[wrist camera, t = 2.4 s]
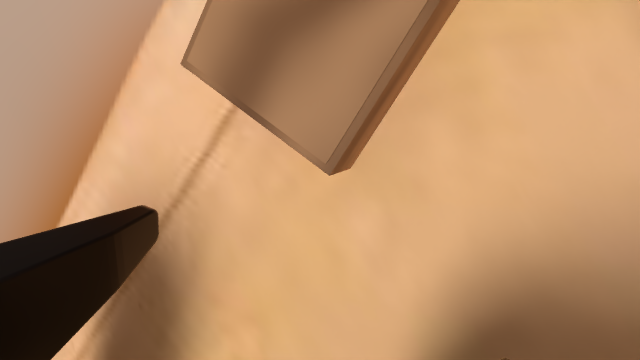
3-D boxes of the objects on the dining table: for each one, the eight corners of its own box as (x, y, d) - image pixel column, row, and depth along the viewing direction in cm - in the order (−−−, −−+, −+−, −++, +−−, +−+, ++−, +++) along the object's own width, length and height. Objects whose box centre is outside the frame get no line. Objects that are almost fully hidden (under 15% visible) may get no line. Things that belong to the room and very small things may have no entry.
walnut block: (468, -14, 18) (464, -40, 15) (350, 168, 21) (328, 176, 18) (297, -106, 20) (265, -144, 17) (216, 70, 23) (178, 63, 21)
